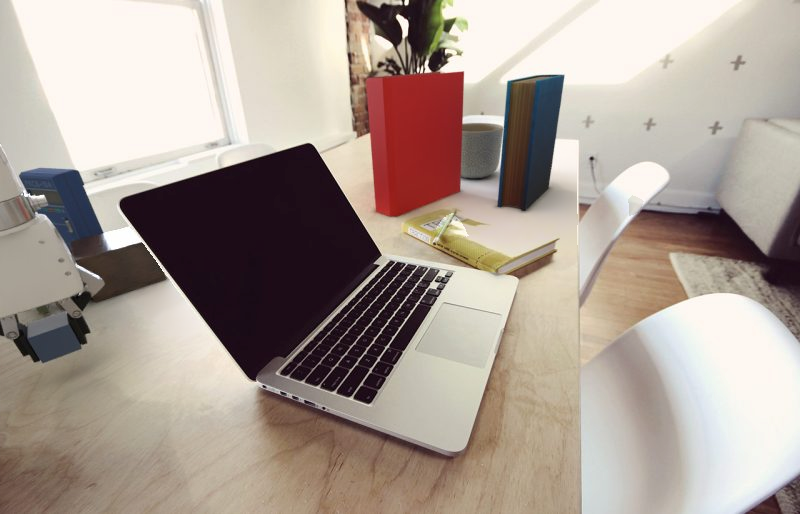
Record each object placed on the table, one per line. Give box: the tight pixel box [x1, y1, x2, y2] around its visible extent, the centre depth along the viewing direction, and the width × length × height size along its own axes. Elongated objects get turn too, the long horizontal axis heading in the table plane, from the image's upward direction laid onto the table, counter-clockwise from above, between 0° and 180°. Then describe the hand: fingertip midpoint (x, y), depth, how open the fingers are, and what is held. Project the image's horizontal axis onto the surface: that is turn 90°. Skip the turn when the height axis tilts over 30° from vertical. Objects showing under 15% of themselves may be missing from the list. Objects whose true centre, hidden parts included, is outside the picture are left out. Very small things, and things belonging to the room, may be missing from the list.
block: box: [26, 310, 83, 364], centre depth 49 cm, size 4×4×4 cm
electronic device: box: [18, 167, 105, 249], centre depth 75 cm, size 10×5×20 cm, turn 73°
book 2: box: [497, 74, 566, 212], centre depth 101 cm, size 24×9×30 cm, turn 146°
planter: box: [461, 122, 504, 180], centre depth 124 cm, size 17×17×15 cm
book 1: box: [365, 70, 465, 217], centre depth 100 cm, size 27×8×32 cm, turn 135°
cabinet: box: [70, 226, 167, 303], centre depth 72 cm, size 11×10×8 cm
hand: (60, 346), depth 50 cm, fingers closed on block, 4 cm apart
